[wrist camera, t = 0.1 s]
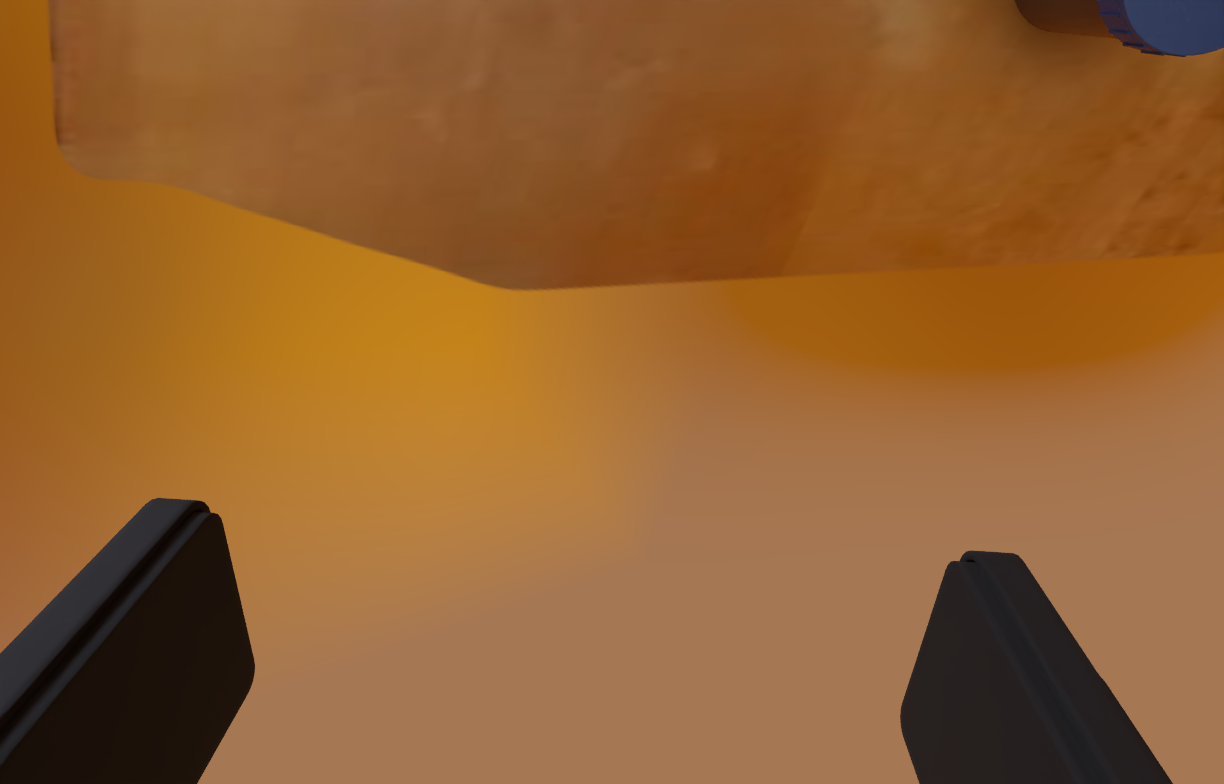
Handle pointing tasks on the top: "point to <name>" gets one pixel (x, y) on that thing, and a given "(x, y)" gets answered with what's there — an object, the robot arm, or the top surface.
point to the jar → (1065, 16)
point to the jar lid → (1166, 25)
